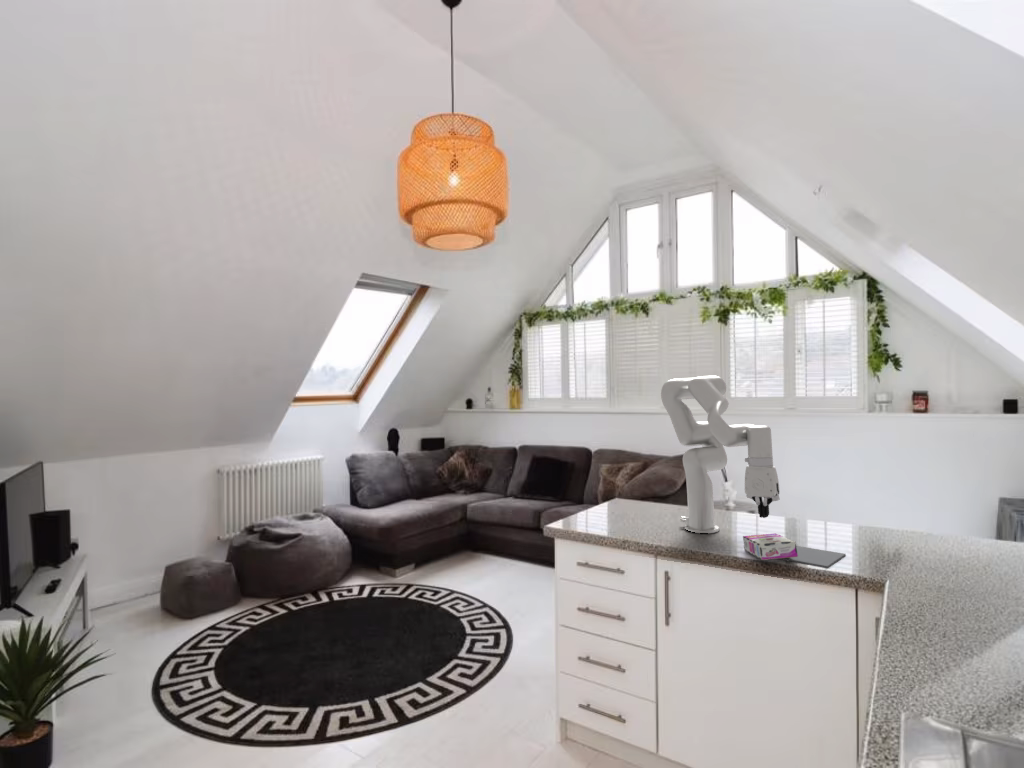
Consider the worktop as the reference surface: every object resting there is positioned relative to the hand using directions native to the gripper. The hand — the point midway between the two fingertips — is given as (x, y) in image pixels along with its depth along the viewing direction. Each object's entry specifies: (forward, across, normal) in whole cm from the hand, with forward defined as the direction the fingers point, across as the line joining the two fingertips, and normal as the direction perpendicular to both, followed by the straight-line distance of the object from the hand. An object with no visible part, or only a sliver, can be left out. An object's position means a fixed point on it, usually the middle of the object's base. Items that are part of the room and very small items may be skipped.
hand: (763, 516), depth 189 cm
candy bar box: (+8, -1, -1) cm, 8 cm away
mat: (+11, +12, 0) cm, 16 cm away
